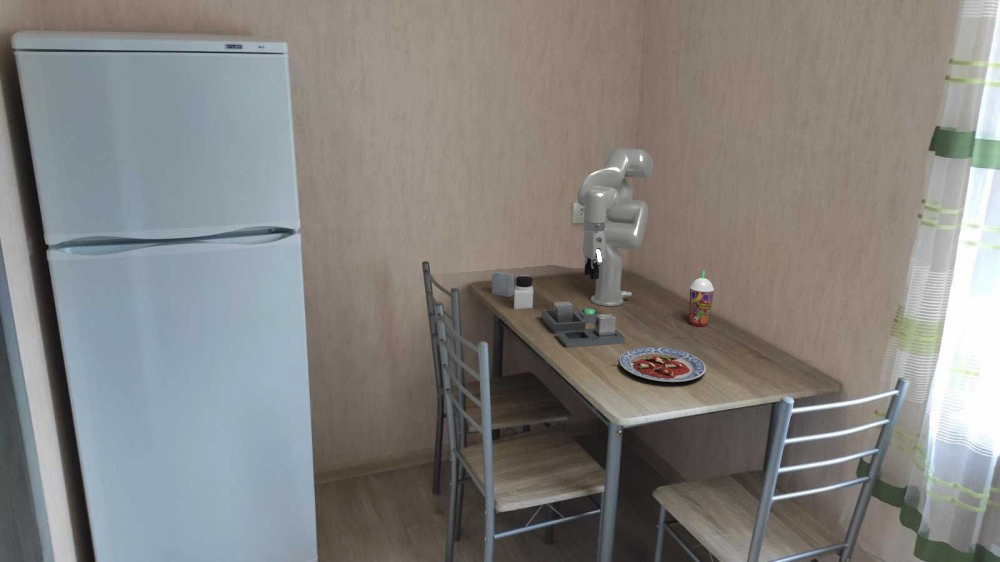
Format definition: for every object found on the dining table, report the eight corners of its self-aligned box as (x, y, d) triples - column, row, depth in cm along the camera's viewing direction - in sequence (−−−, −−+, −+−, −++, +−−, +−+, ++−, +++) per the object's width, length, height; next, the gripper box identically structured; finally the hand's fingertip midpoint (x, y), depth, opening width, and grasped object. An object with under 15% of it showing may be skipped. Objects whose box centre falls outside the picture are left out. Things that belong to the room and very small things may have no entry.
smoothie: (697, 329, 253) (703, 275, 248) (681, 322, 260) (686, 269, 255) (715, 326, 257) (721, 272, 251) (699, 318, 264) (704, 266, 258)
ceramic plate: (679, 396, 203) (679, 386, 202) (602, 370, 219) (603, 361, 218) (719, 369, 221) (720, 360, 220) (646, 347, 237) (647, 338, 237)
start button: (591, 317, 260) (592, 307, 259) (595, 320, 256) (596, 311, 255) (582, 317, 259) (583, 308, 258) (586, 321, 256) (586, 311, 255)
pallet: (612, 335, 246) (612, 327, 245) (624, 346, 237) (624, 337, 236) (556, 339, 242) (557, 331, 241) (566, 350, 232) (566, 342, 232)
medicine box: (514, 295, 287) (514, 274, 284) (508, 298, 283) (508, 276, 281) (497, 291, 291) (498, 271, 288) (491, 294, 287) (492, 273, 285)
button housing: (594, 318, 262) (595, 308, 261) (601, 325, 256) (602, 314, 254) (576, 319, 260) (576, 309, 259) (582, 326, 254) (583, 315, 253)
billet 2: (609, 336, 243) (611, 313, 240) (614, 340, 239) (615, 317, 237) (593, 337, 241) (595, 314, 239) (598, 341, 238) (599, 318, 235)
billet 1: (568, 322, 254) (569, 301, 252) (572, 326, 251) (573, 305, 248) (553, 323, 253) (554, 302, 251) (556, 327, 249) (557, 306, 247)
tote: (570, 319, 260) (571, 308, 259) (585, 334, 247) (585, 322, 245) (541, 321, 258) (542, 309, 257) (554, 336, 244) (555, 324, 243)
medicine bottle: (533, 310, 270) (534, 279, 266) (514, 309, 270) (514, 279, 266) (532, 304, 277) (533, 274, 273) (514, 303, 277) (514, 273, 273)
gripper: (614, 231, 241) (610, 283, 246) (595, 220, 256) (592, 269, 262) (593, 232, 239) (589, 284, 244) (575, 221, 255) (573, 270, 260)
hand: (591, 276), depth 253 cm, fingers open, 4 cm apart
